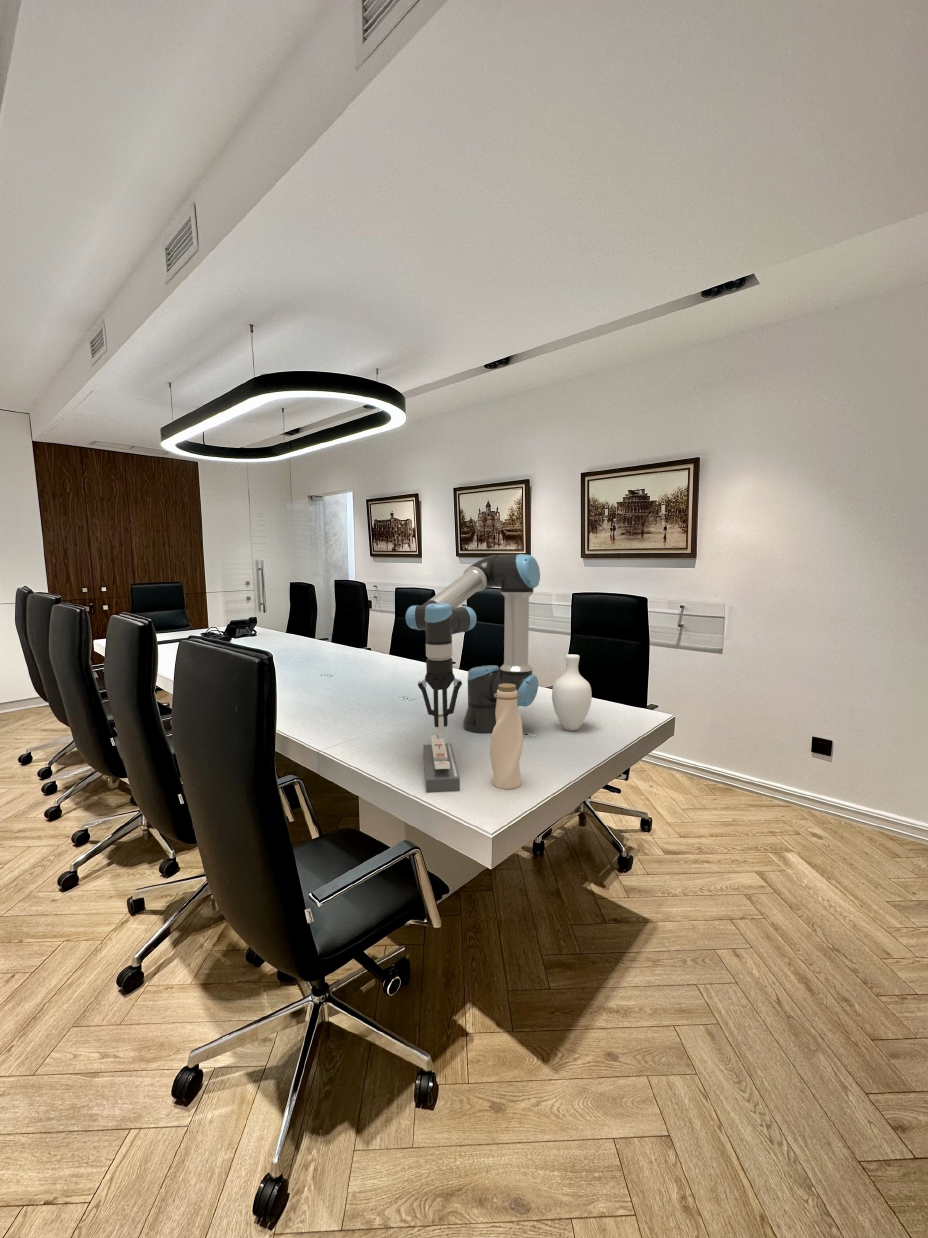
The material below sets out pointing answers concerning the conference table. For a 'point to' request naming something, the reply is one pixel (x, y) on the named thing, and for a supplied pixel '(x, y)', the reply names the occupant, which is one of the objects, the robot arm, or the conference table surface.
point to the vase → (571, 695)
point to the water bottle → (506, 739)
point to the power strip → (440, 772)
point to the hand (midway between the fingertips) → (441, 737)
